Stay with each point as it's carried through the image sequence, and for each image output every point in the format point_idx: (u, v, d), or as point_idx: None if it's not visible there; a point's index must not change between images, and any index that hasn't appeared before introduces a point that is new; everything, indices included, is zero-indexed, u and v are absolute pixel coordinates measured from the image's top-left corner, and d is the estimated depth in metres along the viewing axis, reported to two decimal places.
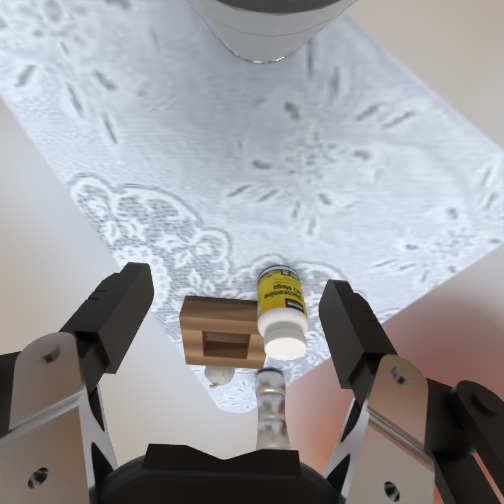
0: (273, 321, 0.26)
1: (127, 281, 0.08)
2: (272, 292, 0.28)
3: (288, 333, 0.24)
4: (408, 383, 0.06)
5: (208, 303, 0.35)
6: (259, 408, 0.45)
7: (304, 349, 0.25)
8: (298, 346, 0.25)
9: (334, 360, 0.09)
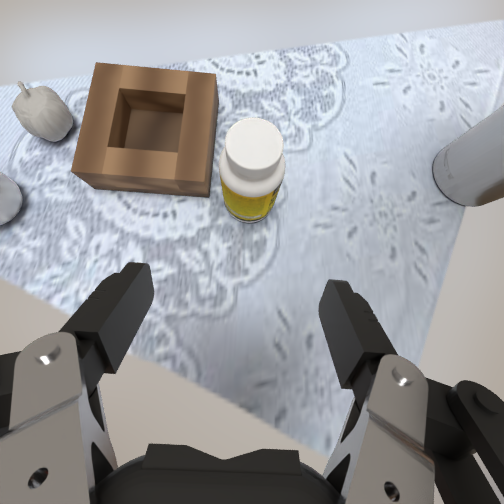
0: None
1: (127, 281, 0.08)
2: None
3: None
4: (408, 383, 0.06)
5: (215, 119, 0.29)
6: None
7: (258, 166, 0.17)
8: (264, 158, 0.18)
9: (334, 360, 0.09)
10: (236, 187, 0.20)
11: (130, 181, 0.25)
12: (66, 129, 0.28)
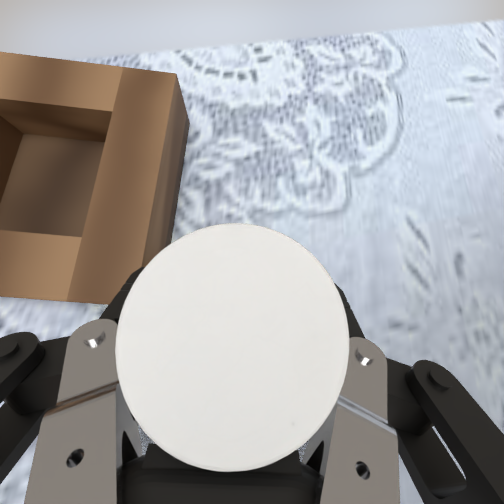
0: None
1: None
2: None
3: None
4: (368, 361, 0.06)
5: (179, 156, 0.16)
6: None
7: (248, 457, 0.04)
8: (276, 409, 0.04)
9: None
10: None
11: None
12: None
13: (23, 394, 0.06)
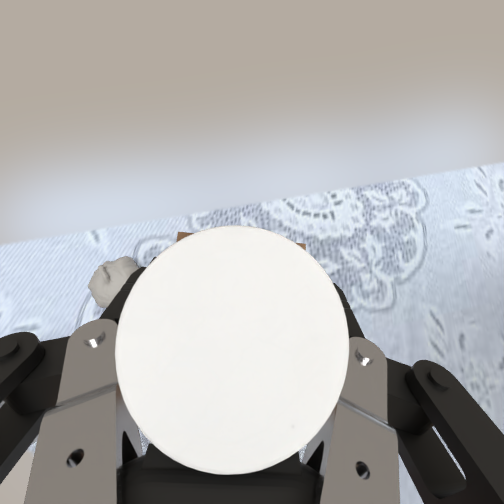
0: None
1: None
2: None
3: None
4: (368, 361, 0.06)
5: None
6: None
7: (248, 460, 0.04)
8: (276, 412, 0.04)
9: None
10: None
11: None
12: None
13: (23, 394, 0.06)
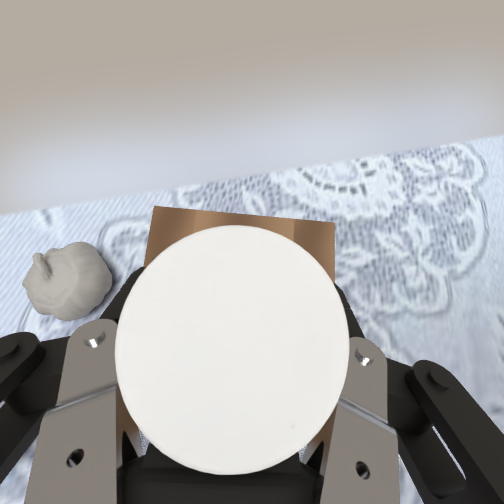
0: None
1: None
2: None
3: None
4: (368, 361, 0.06)
5: None
6: None
7: (248, 460, 0.04)
8: (276, 412, 0.04)
9: None
10: None
11: None
12: (103, 297, 0.18)
13: (23, 394, 0.06)
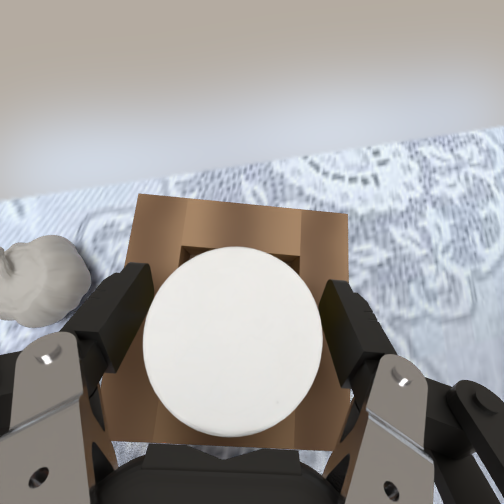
0: None
1: (127, 281, 0.08)
2: None
3: None
4: (407, 383, 0.06)
5: None
6: None
7: (243, 427, 0.05)
8: (264, 391, 0.06)
9: (334, 360, 0.09)
10: None
11: None
12: (80, 300, 0.16)
13: None
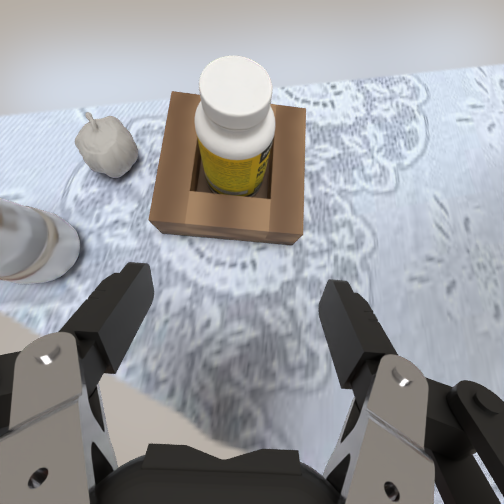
0: None
1: (127, 281, 0.08)
2: None
3: (271, 95, 0.15)
4: (408, 383, 0.06)
5: None
6: (1, 198, 0.16)
7: (239, 112, 0.14)
8: (248, 102, 0.14)
9: (334, 360, 0.09)
10: (214, 146, 0.16)
11: (213, 230, 0.22)
12: (131, 164, 0.24)
13: None
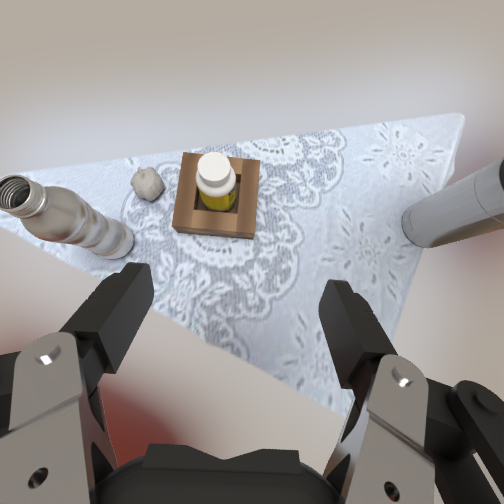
0: None
1: (127, 281, 0.08)
2: None
3: (230, 169, 0.33)
4: (408, 383, 0.06)
5: None
6: (104, 216, 0.34)
7: (215, 179, 0.32)
8: (219, 174, 0.32)
9: (334, 360, 0.09)
10: (205, 190, 0.34)
11: (206, 230, 0.40)
12: None
13: None
